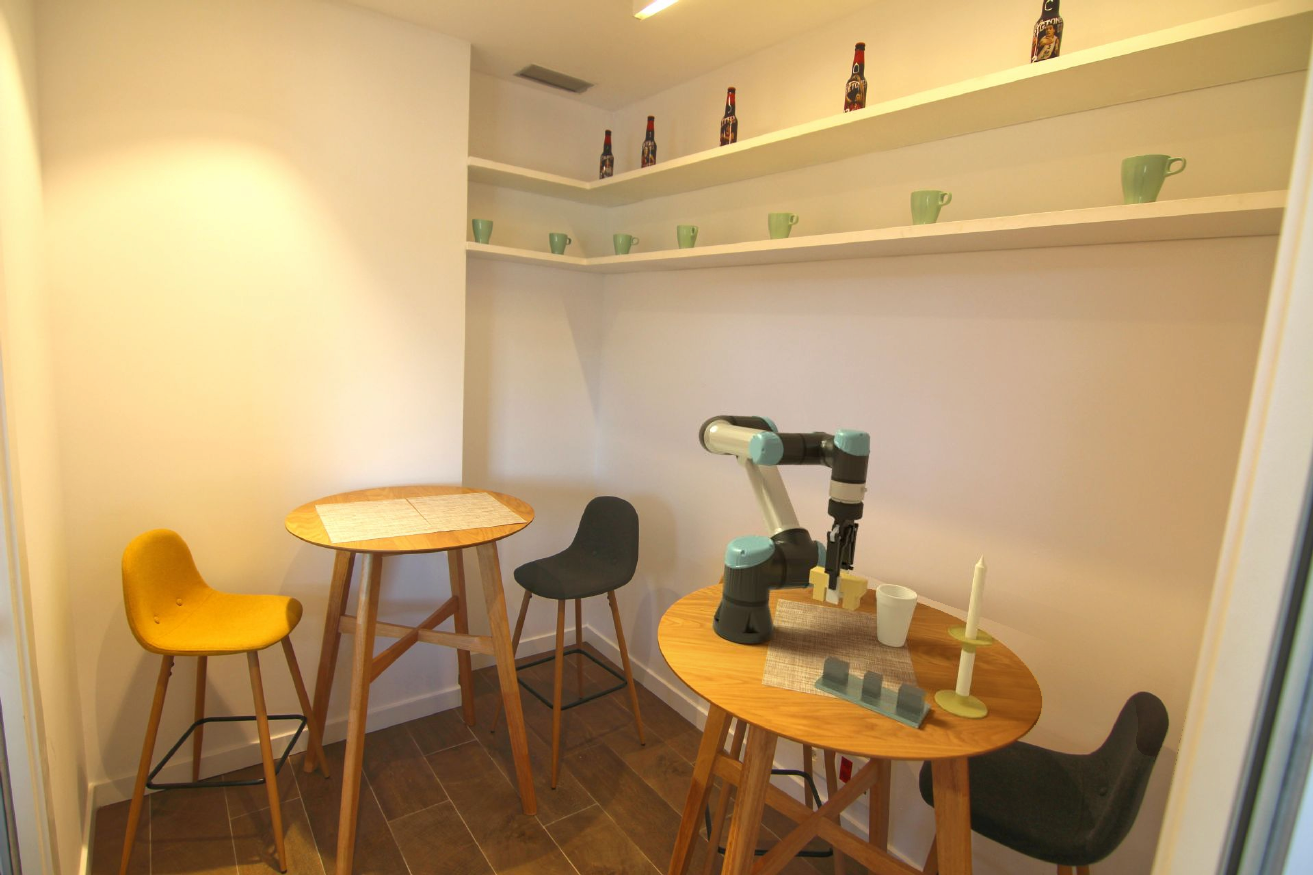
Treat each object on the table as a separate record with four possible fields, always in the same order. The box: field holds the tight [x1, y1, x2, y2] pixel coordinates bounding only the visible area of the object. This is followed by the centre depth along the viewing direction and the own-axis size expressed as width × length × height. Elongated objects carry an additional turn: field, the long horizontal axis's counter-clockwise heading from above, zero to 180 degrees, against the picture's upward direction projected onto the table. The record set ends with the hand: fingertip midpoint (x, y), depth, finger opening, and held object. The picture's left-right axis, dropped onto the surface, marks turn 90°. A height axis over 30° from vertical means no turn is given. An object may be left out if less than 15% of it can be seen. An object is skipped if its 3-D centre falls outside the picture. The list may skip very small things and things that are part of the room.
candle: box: [934, 554, 995, 720], centre depth 125 cm, size 10×10×32 cm
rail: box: [813, 655, 931, 729], centre depth 127 cm, size 21×9×5 cm, turn 52°
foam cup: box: [875, 583, 918, 648], centre depth 153 cm, size 10×9×13 cm
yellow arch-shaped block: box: [809, 566, 869, 612], centre depth 140 cm, size 12×4×6 cm, turn 53°
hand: (836, 599), depth 140 cm, fingers closed on yellow arch-shaped block, 4 cm apart
